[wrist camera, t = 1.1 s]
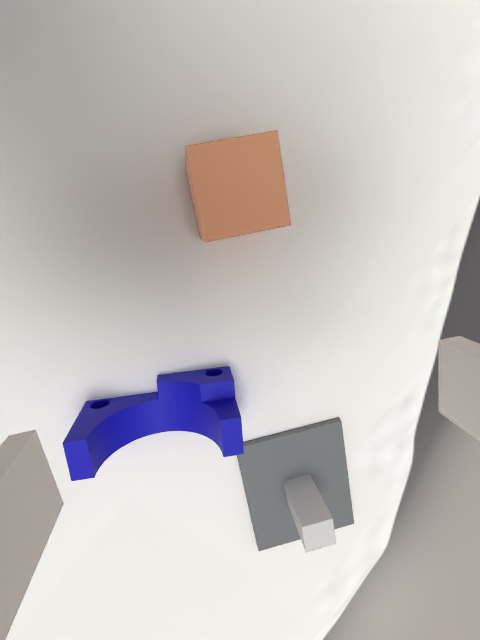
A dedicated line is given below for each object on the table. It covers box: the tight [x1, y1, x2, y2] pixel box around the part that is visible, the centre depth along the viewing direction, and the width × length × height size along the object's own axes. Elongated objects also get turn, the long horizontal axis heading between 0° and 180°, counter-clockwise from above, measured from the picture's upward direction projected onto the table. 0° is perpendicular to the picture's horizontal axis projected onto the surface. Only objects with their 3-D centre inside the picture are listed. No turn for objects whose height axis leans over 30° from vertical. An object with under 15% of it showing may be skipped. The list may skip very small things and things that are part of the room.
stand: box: [237, 418, 354, 552], centre depth 31 cm, size 12×10×6 cm
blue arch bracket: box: [63, 366, 244, 481], centre depth 27 cm, size 12×4×6 cm, turn 94°
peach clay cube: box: [185, 130, 291, 242], centre depth 23 cm, size 5×5×7 cm
